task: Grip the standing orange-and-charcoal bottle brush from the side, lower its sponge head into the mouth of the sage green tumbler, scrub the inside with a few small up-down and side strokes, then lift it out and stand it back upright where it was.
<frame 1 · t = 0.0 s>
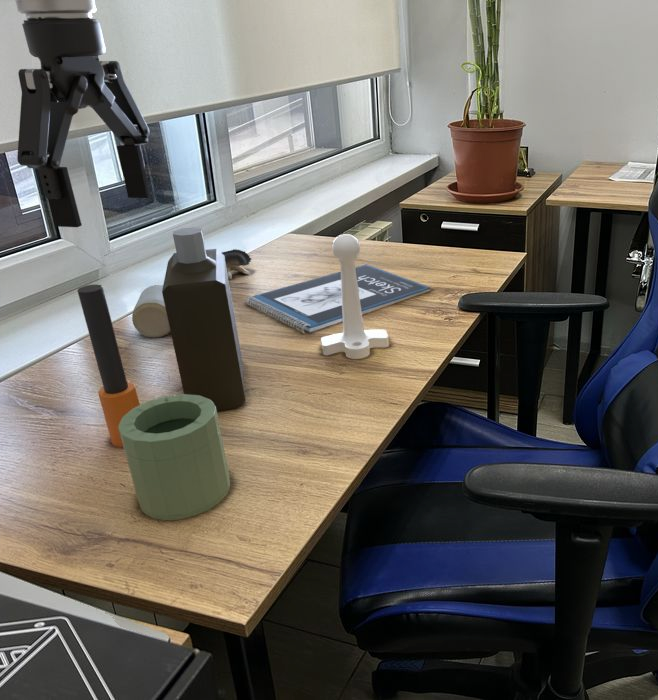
hand: (106, 211, 85), 31 cm above the table, tool pointing down, fingers open, 13 cm apart
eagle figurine: (231, 278, 154), on the table
brush: (130, 440, 96), on the table
sketchbook: (339, 299, 142), on the table
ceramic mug: (169, 331, 129), on the table
sage green tumbler: (186, 495, 85), on the table
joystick: (356, 352, 120), on the table
bottle: (218, 391, 108), on the table
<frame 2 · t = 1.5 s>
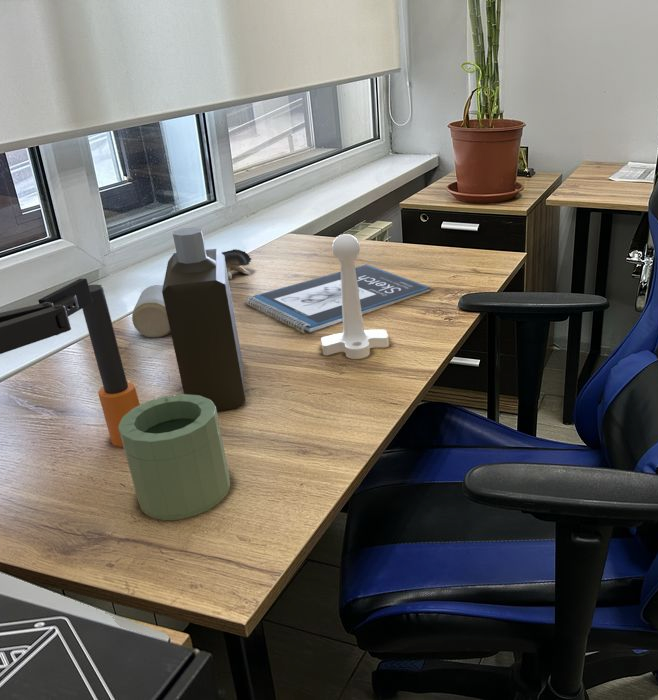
hand: (30, 288, 77), 25 cm above the table, tool horizontal, fingers open, 13 cm apart
nothing on the table moved.
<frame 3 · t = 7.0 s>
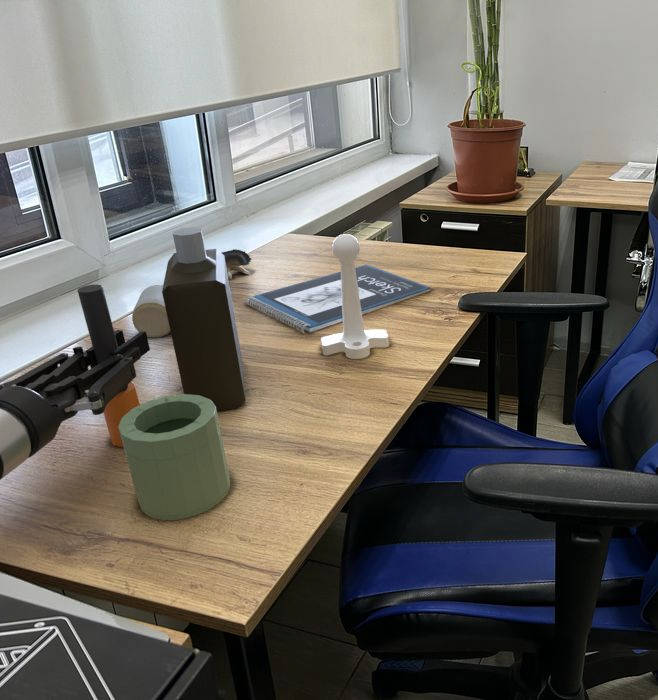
hand: (133, 340, 95), 13 cm above the table, tool horizontal, fingers closed on brush, 3 cm apart
brush: (130, 440, 96), on the table, touching gripper
everything else where it was.
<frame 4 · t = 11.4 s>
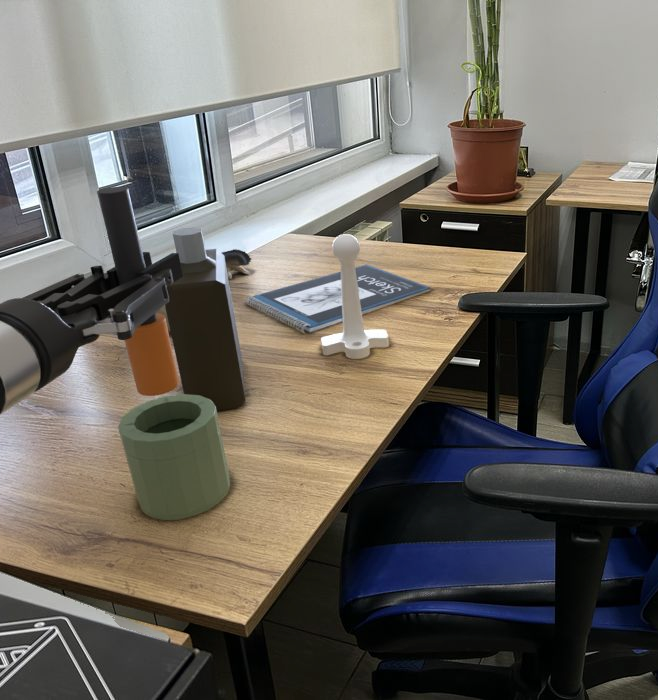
hand: (163, 264, 78), 27 cm above the table, tool horizontal, fingers closed on brush, 3 cm apart
brush: (158, 386, 79), point 15 cm above the table, touching gripper
everything else where it was.
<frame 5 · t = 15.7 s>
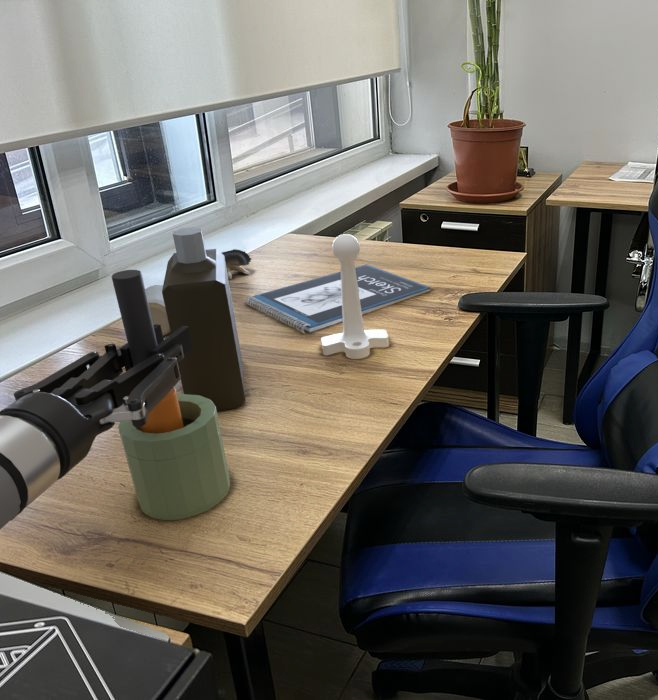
hand: (173, 336, 81), 19 cm above the table, tool horizontal, fingers closed on brush, 3 cm apart
brush: (168, 454, 82), point 6 cm above the table, touching gripper
everything else where it was.
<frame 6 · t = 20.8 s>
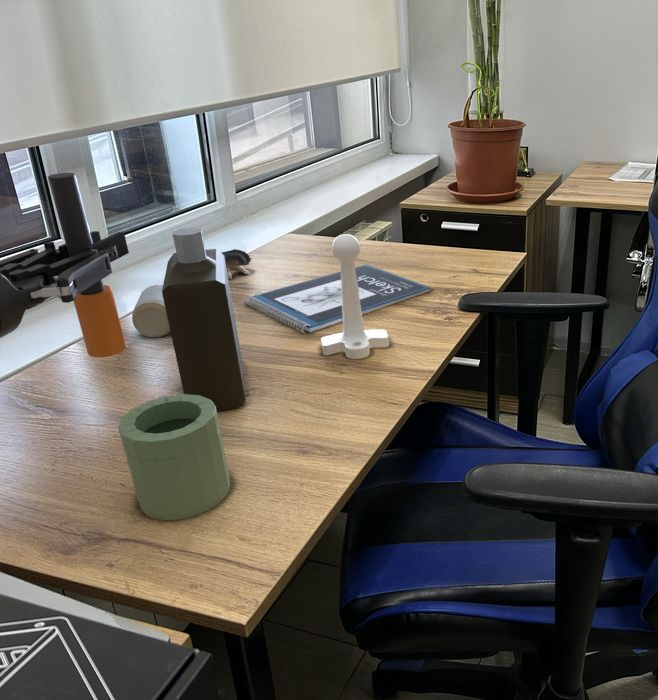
hand: (111, 242, 89), 26 cm above the table, tool horizontal, fingers closed on brush, 3 cm apart
brush: (107, 350, 89), point 14 cm above the table, touching gripper
everything else where it was.
when the fingers open (12 cm above the table, at t = 24.6 s): brush stays where it is, on the table.
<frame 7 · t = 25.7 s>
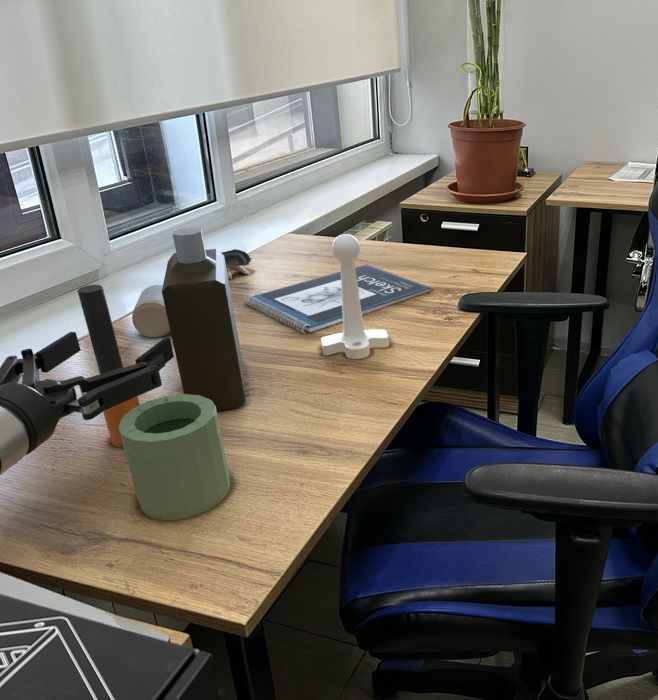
hand: (122, 344, 93), 13 cm above the table, tool horizontal, fingers open, 13 cm apart
brush: (130, 440, 96), on the table
everything else where it was.
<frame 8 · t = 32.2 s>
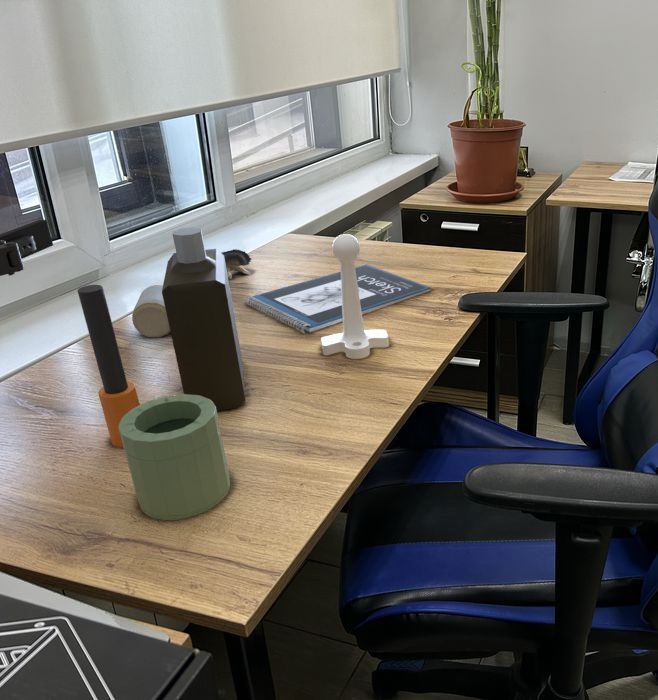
nothing on the table moved.
at the end: brush inside the target area (0.1 cm from its centre), on the table; brush tilted 0°; the gripper is holding nothing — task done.
